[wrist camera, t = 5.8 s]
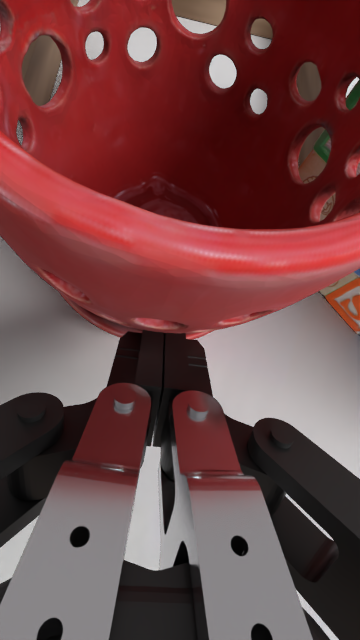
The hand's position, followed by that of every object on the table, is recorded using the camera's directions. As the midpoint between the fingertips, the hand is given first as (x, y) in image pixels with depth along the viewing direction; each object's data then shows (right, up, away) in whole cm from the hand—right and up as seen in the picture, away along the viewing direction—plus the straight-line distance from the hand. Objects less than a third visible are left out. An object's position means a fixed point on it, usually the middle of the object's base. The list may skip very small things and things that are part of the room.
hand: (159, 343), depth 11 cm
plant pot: (0, +5, +6) cm, 8 cm away
